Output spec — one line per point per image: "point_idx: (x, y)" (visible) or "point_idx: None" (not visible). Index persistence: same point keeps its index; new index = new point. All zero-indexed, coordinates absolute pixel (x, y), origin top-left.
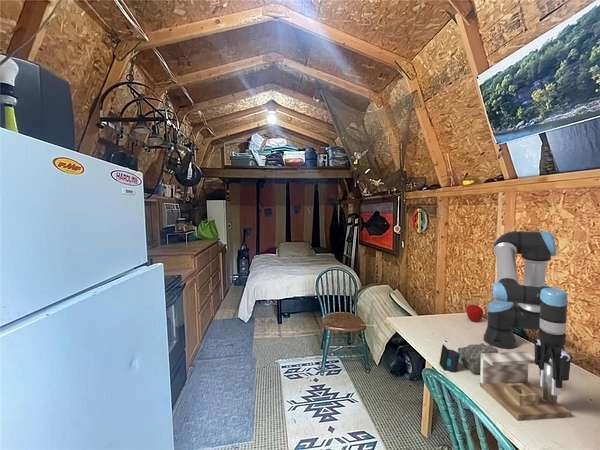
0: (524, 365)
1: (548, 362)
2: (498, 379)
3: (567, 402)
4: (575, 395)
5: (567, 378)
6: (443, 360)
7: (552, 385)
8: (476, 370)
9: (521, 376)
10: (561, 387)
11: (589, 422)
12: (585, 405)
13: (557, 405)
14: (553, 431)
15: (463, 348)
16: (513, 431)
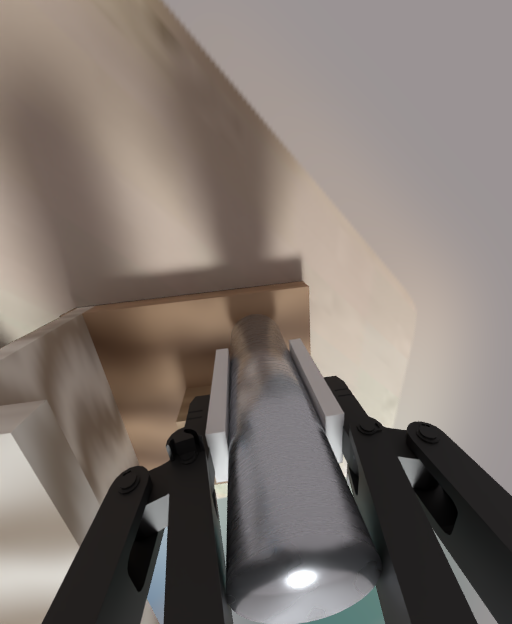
0: (12, 388)
1: (260, 590)
2: (122, 452)
3: (208, 210)
4: (138, 103)
5: (449, 452)
6: None
7: None
8: None
9: (76, 361)
10: (340, 382)
11: (333, 228)
12: (225, 131)
13: (267, 307)
14: (356, 382)
15: None
16: (343, 471)
